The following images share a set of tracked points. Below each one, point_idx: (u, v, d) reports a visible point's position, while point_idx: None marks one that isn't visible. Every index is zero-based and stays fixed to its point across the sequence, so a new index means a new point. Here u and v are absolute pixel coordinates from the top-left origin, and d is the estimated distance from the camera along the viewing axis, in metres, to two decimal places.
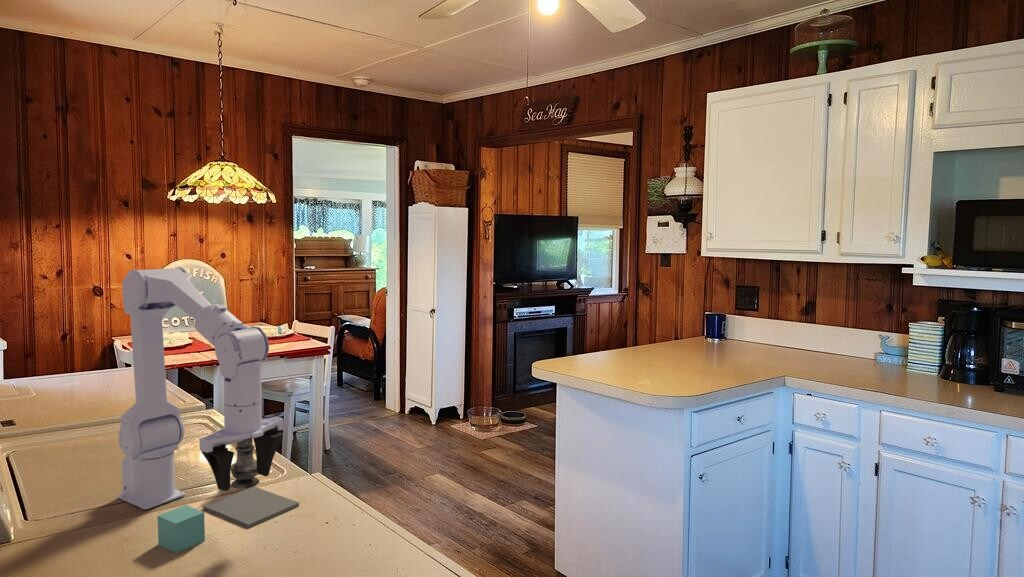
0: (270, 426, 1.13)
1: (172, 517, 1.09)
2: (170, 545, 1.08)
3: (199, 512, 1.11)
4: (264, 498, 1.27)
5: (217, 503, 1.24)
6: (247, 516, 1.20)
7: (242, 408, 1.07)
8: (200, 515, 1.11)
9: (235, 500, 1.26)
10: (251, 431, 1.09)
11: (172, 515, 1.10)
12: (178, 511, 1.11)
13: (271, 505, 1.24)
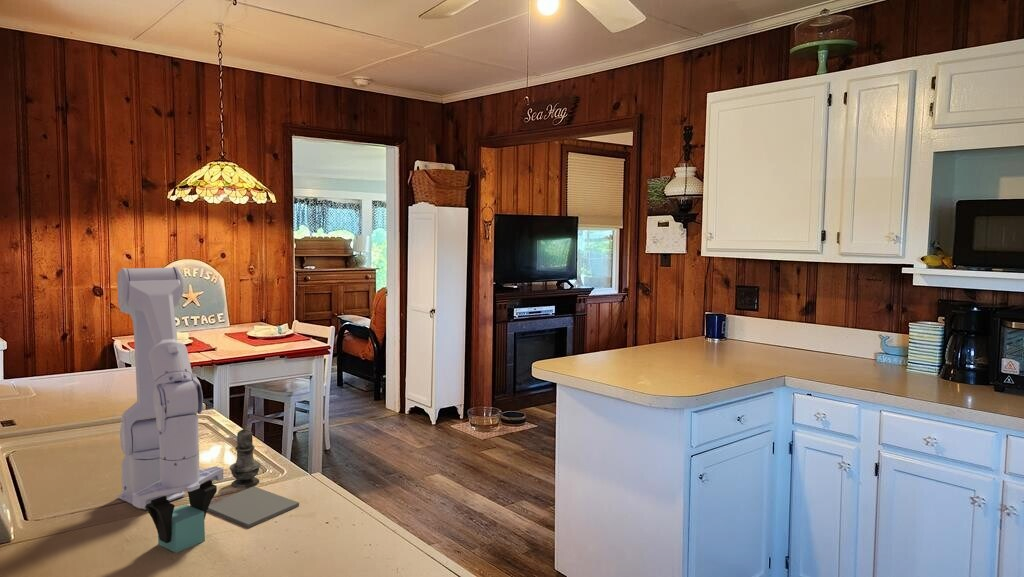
0: (208, 477, 1.12)
1: (172, 516, 1.09)
2: (170, 544, 1.08)
3: (199, 511, 1.11)
4: (264, 498, 1.27)
5: (217, 503, 1.24)
6: (247, 516, 1.20)
7: (177, 462, 1.07)
8: (200, 514, 1.11)
9: (235, 500, 1.26)
10: (187, 484, 1.08)
11: (172, 515, 1.10)
12: (178, 510, 1.11)
13: (271, 505, 1.24)
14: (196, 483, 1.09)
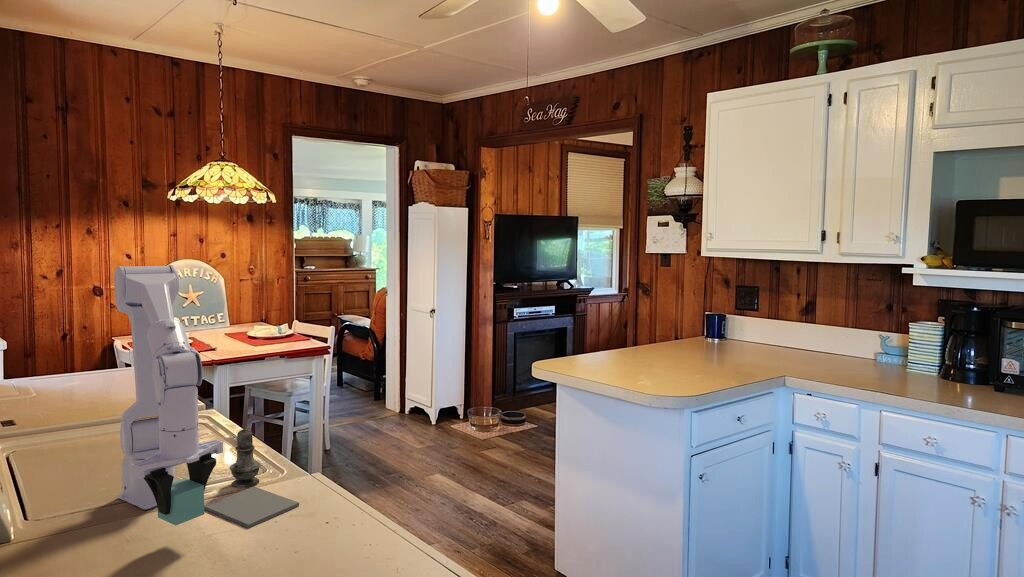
0: (208, 450, 1.12)
1: (172, 489, 1.09)
2: (169, 517, 1.08)
3: (199, 485, 1.11)
4: (264, 498, 1.27)
5: (217, 503, 1.24)
6: (247, 516, 1.20)
7: (176, 433, 1.06)
8: (200, 488, 1.10)
9: (235, 500, 1.26)
10: (186, 456, 1.07)
11: (171, 488, 1.09)
12: (178, 484, 1.11)
13: (271, 505, 1.24)
14: (195, 455, 1.08)
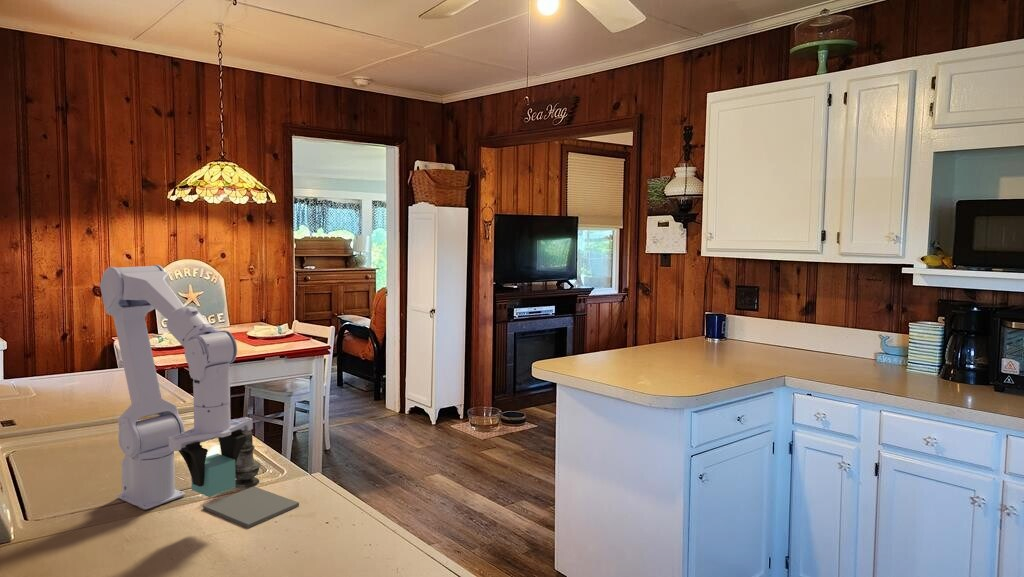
0: (239, 426, 1.17)
1: (205, 463, 1.14)
2: (203, 489, 1.13)
3: (230, 459, 1.16)
4: (264, 498, 1.27)
5: (217, 503, 1.24)
6: (247, 516, 1.20)
7: (210, 409, 1.12)
8: (231, 462, 1.16)
9: (235, 500, 1.26)
10: (219, 431, 1.13)
11: (205, 461, 1.15)
12: (210, 458, 1.17)
13: (271, 505, 1.24)
14: (228, 430, 1.14)
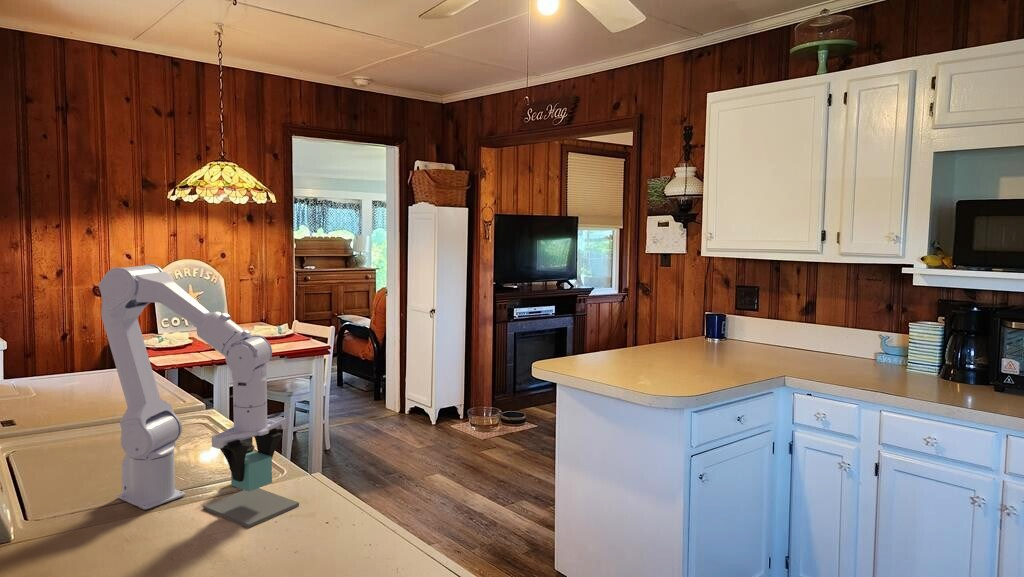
0: (274, 425, 1.25)
1: None
2: (243, 484, 1.21)
3: (267, 456, 1.24)
4: (264, 498, 1.27)
5: (217, 503, 1.24)
6: (247, 516, 1.20)
7: (249, 409, 1.20)
8: (268, 459, 1.24)
9: (235, 500, 1.26)
10: (258, 430, 1.21)
11: None
12: (248, 455, 1.24)
13: (271, 505, 1.24)
14: (265, 429, 1.22)
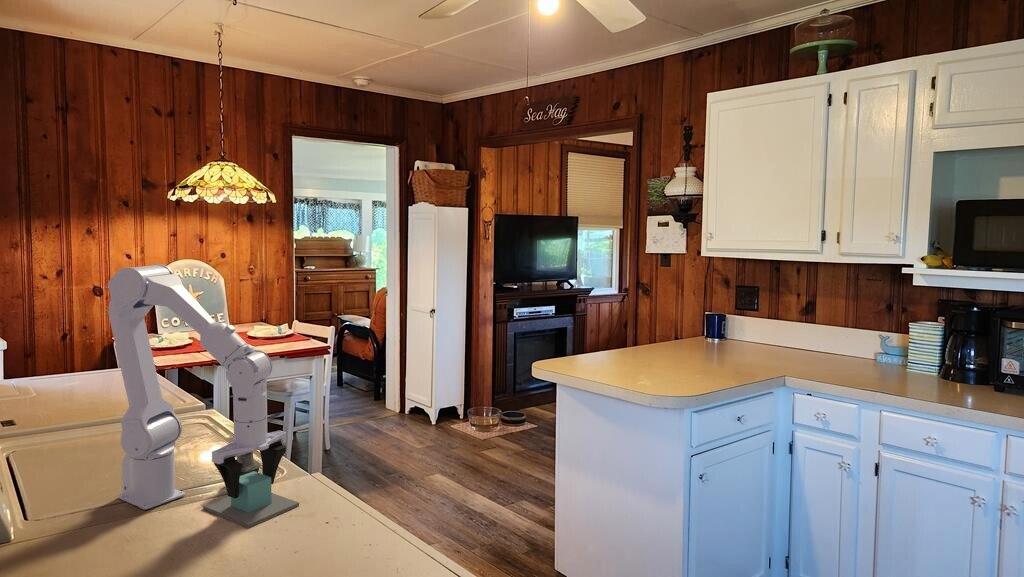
0: (275, 439, 1.26)
1: (244, 480, 1.23)
2: (242, 505, 1.22)
3: (267, 477, 1.25)
4: None
5: (217, 503, 1.24)
6: (247, 516, 1.20)
7: (250, 424, 1.20)
8: (268, 479, 1.24)
9: None
10: (258, 444, 1.21)
11: (243, 479, 1.23)
12: (248, 476, 1.25)
13: (271, 505, 1.24)
14: (265, 443, 1.22)
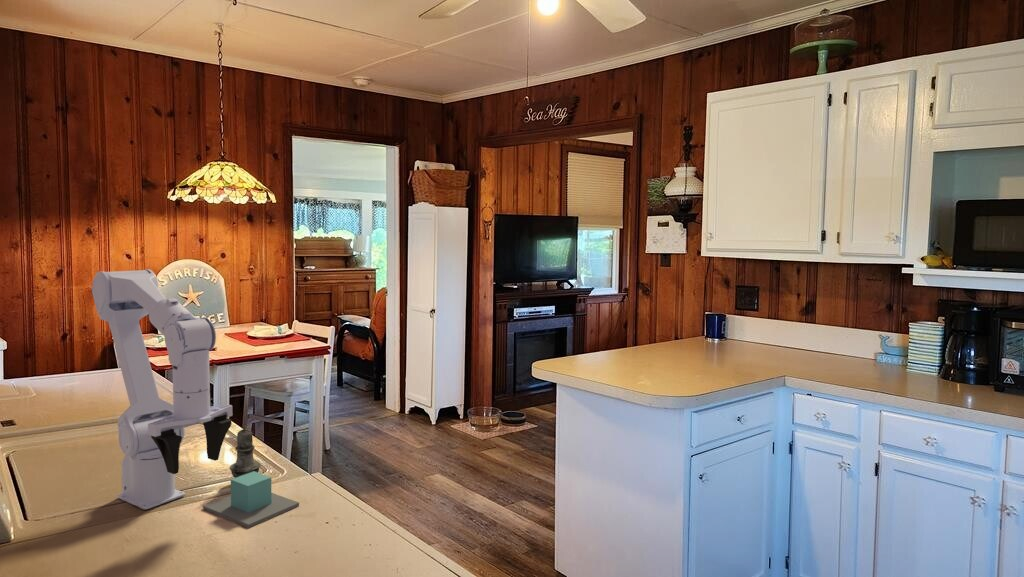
0: (219, 412, 1.18)
1: (244, 480, 1.23)
2: (242, 505, 1.22)
3: (267, 477, 1.25)
4: None
5: (217, 503, 1.24)
6: (247, 516, 1.20)
7: (190, 394, 1.13)
8: (268, 479, 1.24)
9: None
10: (199, 417, 1.14)
11: (243, 479, 1.23)
12: (248, 476, 1.25)
13: (271, 505, 1.24)
14: (207, 416, 1.15)
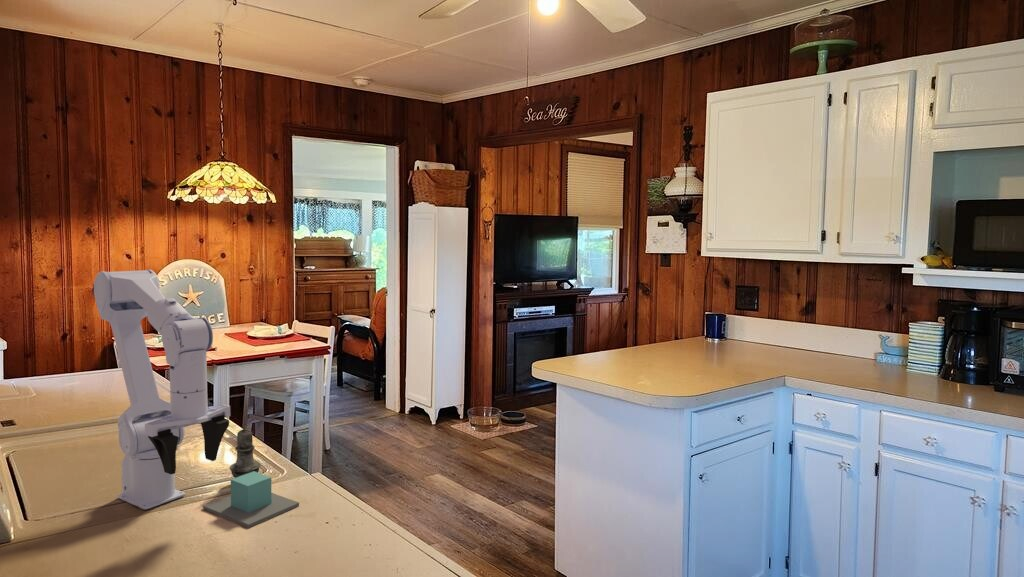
0: (216, 413, 1.18)
1: (244, 480, 1.23)
2: (242, 505, 1.22)
3: (267, 477, 1.25)
4: None
5: (217, 503, 1.24)
6: (247, 516, 1.20)
7: (187, 395, 1.13)
8: (268, 479, 1.24)
9: None
10: (196, 417, 1.14)
11: (243, 479, 1.23)
12: (248, 476, 1.25)
13: (271, 505, 1.24)
14: (205, 416, 1.15)
